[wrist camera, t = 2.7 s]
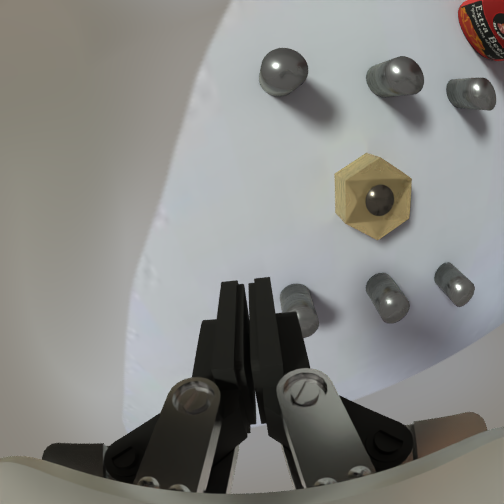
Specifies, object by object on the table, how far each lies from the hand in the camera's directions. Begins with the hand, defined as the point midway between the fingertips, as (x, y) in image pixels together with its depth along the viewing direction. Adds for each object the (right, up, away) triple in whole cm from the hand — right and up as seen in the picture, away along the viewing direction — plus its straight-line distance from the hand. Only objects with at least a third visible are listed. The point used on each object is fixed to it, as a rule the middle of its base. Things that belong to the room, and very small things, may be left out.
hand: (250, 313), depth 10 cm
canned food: (+25, +26, +4) cm, 37 cm away
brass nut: (+10, +8, +13) cm, 18 cm away
